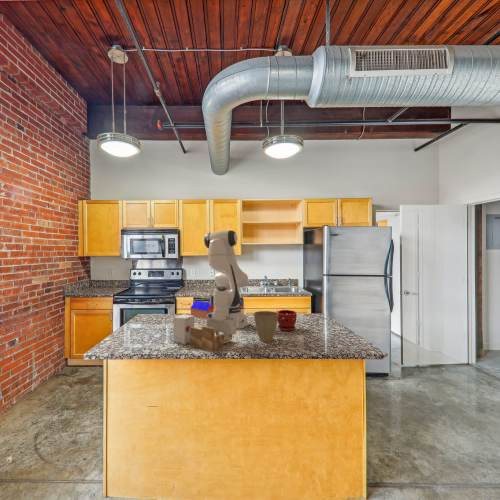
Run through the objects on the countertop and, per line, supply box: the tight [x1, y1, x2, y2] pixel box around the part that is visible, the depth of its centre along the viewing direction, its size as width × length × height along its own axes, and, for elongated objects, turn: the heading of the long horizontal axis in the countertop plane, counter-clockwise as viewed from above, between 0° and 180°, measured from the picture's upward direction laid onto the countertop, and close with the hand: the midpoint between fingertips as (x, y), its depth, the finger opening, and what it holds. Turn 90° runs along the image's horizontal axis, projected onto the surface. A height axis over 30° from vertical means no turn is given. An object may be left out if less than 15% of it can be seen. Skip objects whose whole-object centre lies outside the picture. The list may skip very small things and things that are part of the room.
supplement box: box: [172, 313, 195, 345], centre depth 173 cm, size 9×9×15 cm
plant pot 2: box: [277, 309, 298, 332], centre depth 199 cm, size 13×13×12 cm
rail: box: [221, 333, 233, 344], centre depth 167 cm, size 17×3×5 cm, turn 142°
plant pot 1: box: [253, 310, 279, 343], centre depth 175 cm, size 15×15×16 cm
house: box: [189, 300, 214, 320], centre depth 242 cm, size 12×20×12 cm, turn 52°
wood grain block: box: [189, 325, 223, 352], centre depth 164 cm, size 8×17×12 cm, turn 53°
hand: (221, 339), depth 167 cm, fingers closed on rail, 3 cm apart
